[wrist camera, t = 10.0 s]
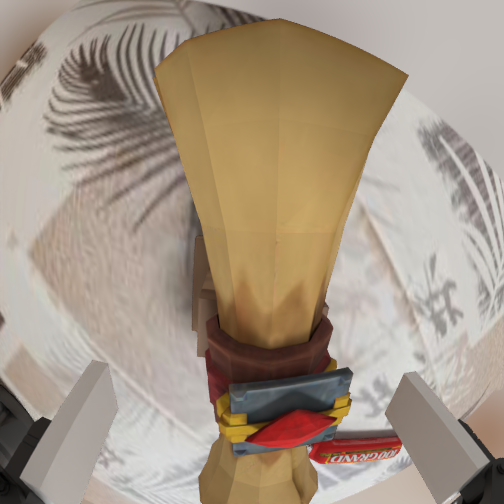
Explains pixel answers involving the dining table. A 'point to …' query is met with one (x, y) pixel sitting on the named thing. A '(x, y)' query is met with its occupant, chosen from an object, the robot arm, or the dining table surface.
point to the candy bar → (355, 450)
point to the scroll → (272, 234)
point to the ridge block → (206, 296)
